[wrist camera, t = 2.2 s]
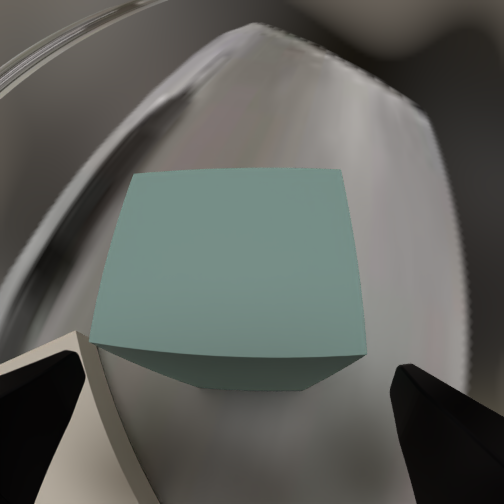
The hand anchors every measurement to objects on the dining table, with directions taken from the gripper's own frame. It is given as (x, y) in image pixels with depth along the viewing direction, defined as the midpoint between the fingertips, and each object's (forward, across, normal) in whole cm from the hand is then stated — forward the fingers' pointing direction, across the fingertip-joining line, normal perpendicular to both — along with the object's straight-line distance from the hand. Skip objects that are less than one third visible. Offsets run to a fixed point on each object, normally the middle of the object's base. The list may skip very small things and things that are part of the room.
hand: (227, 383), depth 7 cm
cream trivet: (+3, +13, +11) cm, 17 cm away
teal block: (+9, 0, +5) cm, 10 cm away
